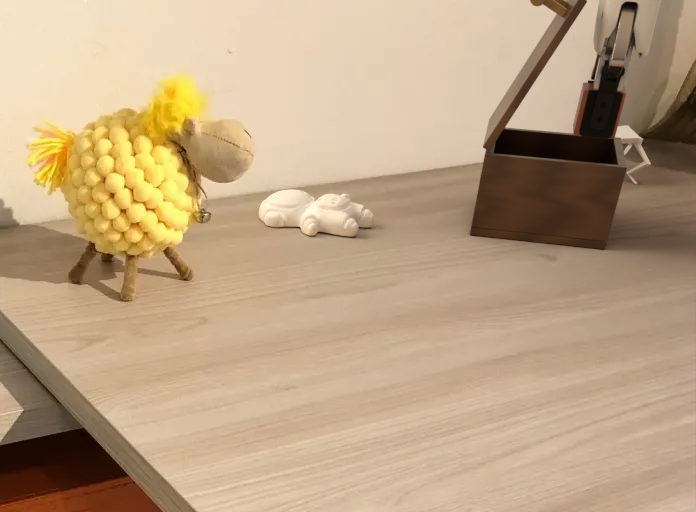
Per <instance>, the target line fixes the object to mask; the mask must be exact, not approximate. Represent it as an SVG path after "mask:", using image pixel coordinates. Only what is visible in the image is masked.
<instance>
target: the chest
mask: <svg viewBox="0 0 696 512" xmlns="http://www.w3.org/2000/svg"><path fill="white" fill-rule="evenodd" d="M624 150H625V149H624V146H623V144H622V140H621V138H618V137H615V138H598V137H587V136H581V135H573V132H571V133H570V132H562V131H561V132H560V131H551V130H550V131H549V130H537V129H526V128H514V127H505V128H504V130H503V131H502V133H501V134H500V136H499V137H498V139H497V140H496V142H495V143H494V145H493V146H492V148H491V149H490V151H488V150H486V149H485V152H484V157H483V161H482V168H481V172H480V179H479V183H478V189H477V192H476V193H477V194H476V199H475V204H474V210H473V215H472V221H471V226H470V231H469V235H470V236H475V237H485V238H486V237H487V238H493V239H494V238H495V239H504V240H505V239H506V240H513V241H522V242H532V243H540V244H552V245H558V246H559V245H561V246H568V247H579V248H588V249H597V250H605V249H606V246H607V242H608V240H609V235H610V231H611V228H612V224H613V221H614V217H615V214H616V210H617V206H618V203H619V200H620V199H619V198H620V195H621V192H622V188H623V183H624V180H625V176H626V174H627V173H626V172H627V169H628V167H627V162H626V157H625V156H626V155H625V156H624Z"/></svg>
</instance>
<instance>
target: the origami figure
mask: <svg viewBox="0 0 696 512" xmlns="http://www.w3.org/2000/svg"><path fill="white" fill-rule="evenodd" d="M615 137H618V138H621V140H622V145H623V144H624V145H625V144H627V146H626V147H625V149H623V150H624V156H626V154H627V153H628V152H629V151H630V149H631V148H632V147H633V146H634V147H635V149H636V151H637V153H638V154H639V156H640V157H641V159H642V160H643V161H642V162H641V163H639V164H637V165H636V166H633V167H632V168H631V169H629V170H628V171H626V173H625V174H626V175H627V176H628V178H629V179H630V180H631V182H632V183H633V184H634V185H638V182H637V181H636V180H635V178H633V176H632V175H631V174H634V173H635V172H638V171H640V170H642V169H644V168H646V167H649V166H651V165H652V163H651V161H650V159H649V158H648V156H647V153H646V151H645V149H644V147H643V146H642V143H643V141H644V138H642V137H641V136H639V134H637V132H635V131H634V129H632V128H631V127H630V125H627V124H626V125H618V128H617V131H616V135H615Z"/></svg>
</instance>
